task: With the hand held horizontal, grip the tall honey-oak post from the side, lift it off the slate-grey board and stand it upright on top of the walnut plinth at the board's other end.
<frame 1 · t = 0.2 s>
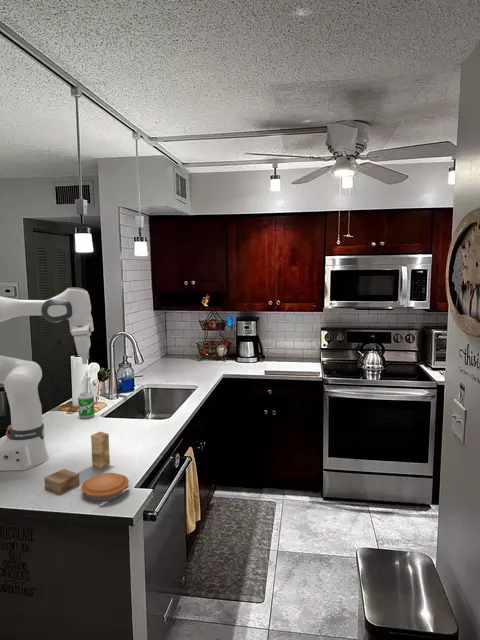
hand: (86, 361, 180), 39 cm above the countertop, tool pointing down, fingers open, 8 cm apart
pie: (105, 494, 153), on the countertop
oak post: (101, 467, 171), point 1 cm above the countertop, touching slate board
walnut plinth: (62, 486, 156), resting on slate board
slate board: (82, 478, 163), on the countertop
soda can: (86, 417, 230), on the countertop
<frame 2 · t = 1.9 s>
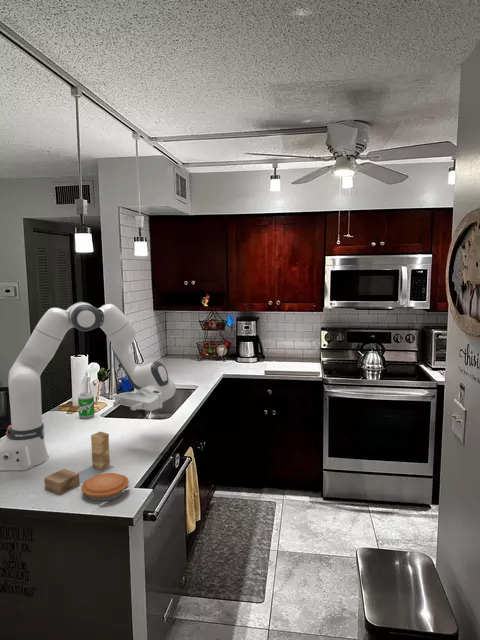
hand: (122, 406, 179), 21 cm above the countertop, tool horizontal, fingers open, 8 cm apart
nothing on the countertop moved.
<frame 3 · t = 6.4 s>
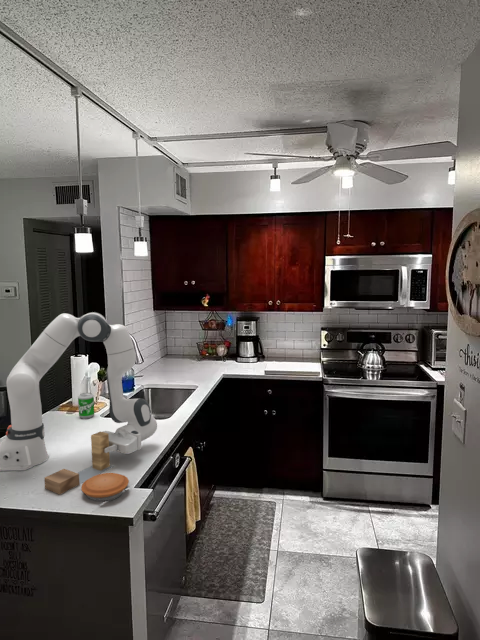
hand: (98, 449, 169), 8 cm above the countertop, tool horizontal, fingers closed on oak post, 4 cm apart
oak post: (101, 467, 171), point 1 cm above the countertop, touching gripper, slate board
everything else where it was.
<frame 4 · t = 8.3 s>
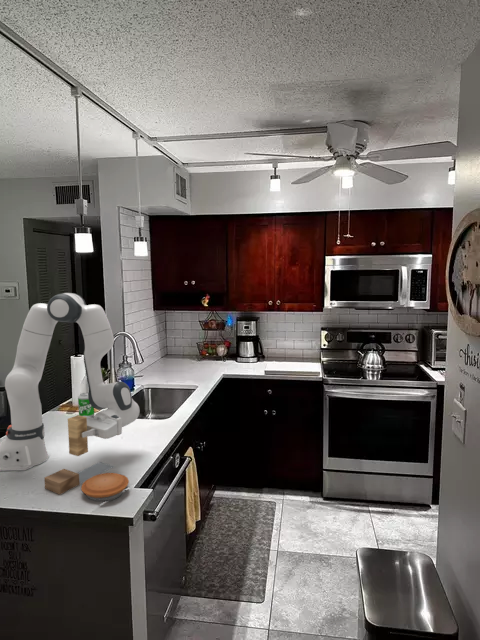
hand: (75, 433, 160), 18 cm above the countertop, tool horizontal, fingers closed on oak post, 4 cm apart
oak post: (78, 452, 161), point 10 cm above the countertop, touching gripper
everything else where it was.
when the fingers open (14 cm above the countertop, at t = 10.2 s): oak post drops 1 cm, resting on walnut plinth.
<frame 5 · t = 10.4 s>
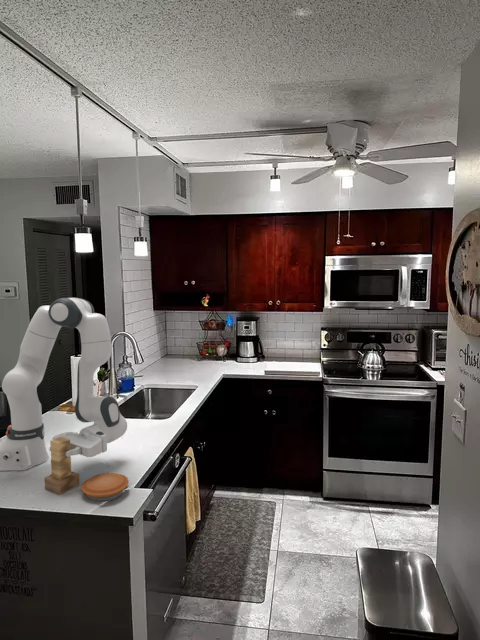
hand: (58, 451, 154), 14 cm above the countertop, tool horizontal, fingers open, 6 cm apart
oak post: (61, 475, 156), point 5 cm above the countertop, touching walnut plinth
everything else where it was.
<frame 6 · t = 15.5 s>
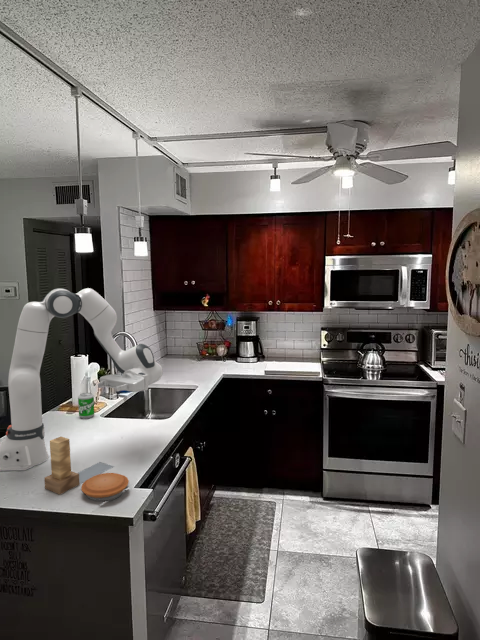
hand: (107, 387, 175), 30 cm above the countertop, tool horizontal, fingers open, 8 cm apart
nothing on the countertop moved.
at the end: oak post 0.1 cm from the target spot, point 4.8 cm above the countertop; oak post tilted 0°; the gripper is holding nothing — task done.
